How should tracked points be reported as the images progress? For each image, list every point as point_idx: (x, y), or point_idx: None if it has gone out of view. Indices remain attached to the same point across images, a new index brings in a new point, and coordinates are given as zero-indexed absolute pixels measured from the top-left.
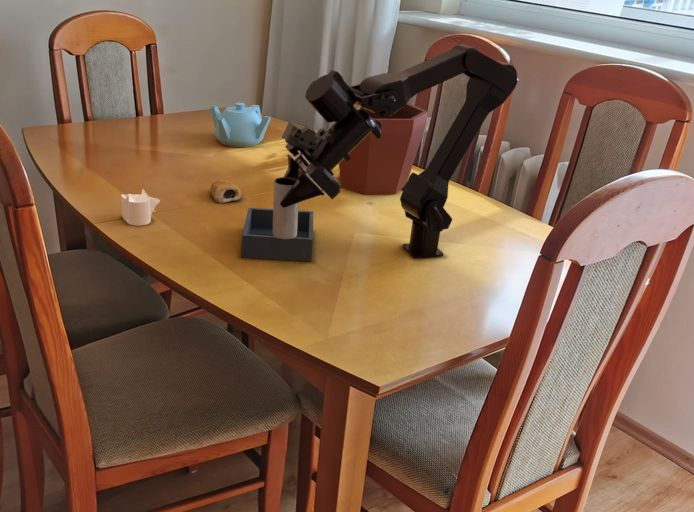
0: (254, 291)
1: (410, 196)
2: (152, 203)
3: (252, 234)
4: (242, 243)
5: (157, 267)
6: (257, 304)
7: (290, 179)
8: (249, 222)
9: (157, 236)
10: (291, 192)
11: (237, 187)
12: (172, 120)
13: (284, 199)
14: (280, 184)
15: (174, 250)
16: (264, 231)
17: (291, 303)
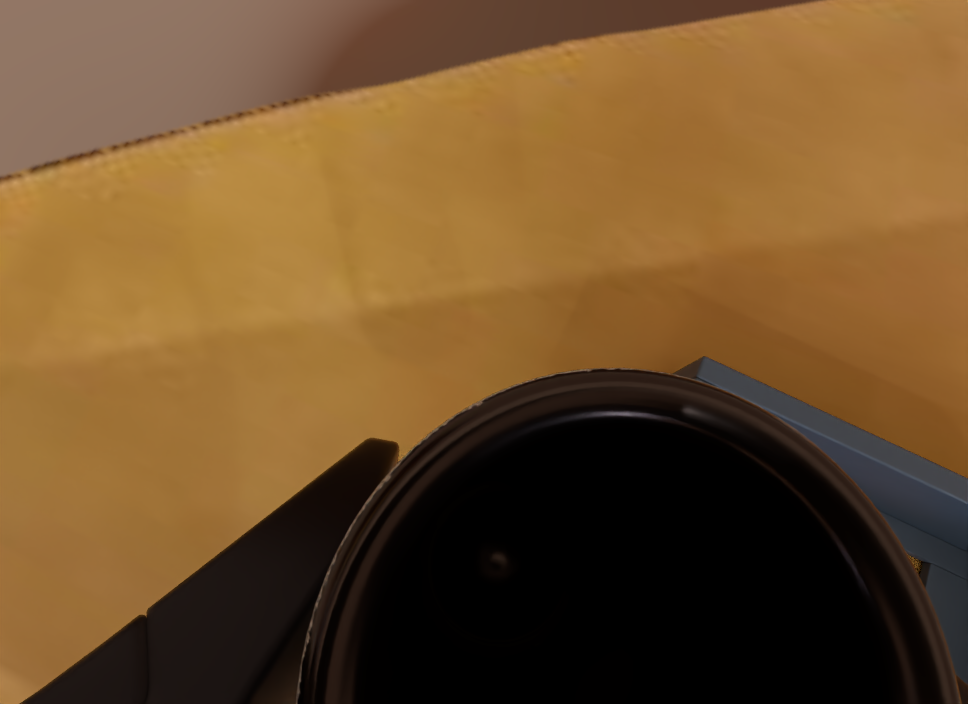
0: (282, 304)
1: None
2: None
3: (920, 542)
4: (682, 370)
5: (632, 43)
6: (157, 269)
7: None
8: (932, 493)
9: (941, 129)
10: (180, 597)
11: None
12: None
13: (317, 479)
14: (443, 425)
15: (785, 145)
16: (959, 630)
17: (91, 415)
